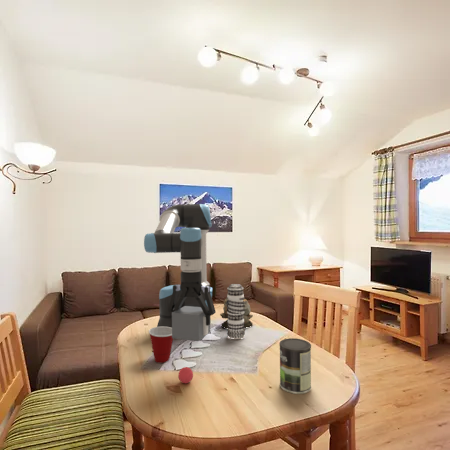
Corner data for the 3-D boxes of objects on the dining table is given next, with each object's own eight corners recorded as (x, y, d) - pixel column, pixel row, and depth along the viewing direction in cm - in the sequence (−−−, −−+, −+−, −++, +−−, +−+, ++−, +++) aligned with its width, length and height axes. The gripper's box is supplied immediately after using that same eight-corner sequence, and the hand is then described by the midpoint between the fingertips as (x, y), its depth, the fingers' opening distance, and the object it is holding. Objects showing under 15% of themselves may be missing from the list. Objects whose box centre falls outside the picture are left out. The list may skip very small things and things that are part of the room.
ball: (174, 376, 105) (178, 385, 107) (188, 378, 104) (191, 387, 106) (180, 363, 109) (183, 372, 112) (193, 364, 108) (196, 373, 110)
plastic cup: (170, 366, 120) (170, 335, 120) (144, 364, 122) (143, 333, 122) (180, 355, 130) (179, 326, 130) (155, 353, 132) (155, 325, 132)
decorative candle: (241, 332, 157) (240, 282, 157) (248, 338, 148) (247, 285, 148) (224, 334, 154) (223, 283, 154) (230, 341, 145) (229, 287, 145)
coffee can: (284, 395, 99) (284, 350, 99) (276, 379, 109) (276, 338, 109) (316, 393, 100) (315, 349, 100) (305, 377, 110) (304, 337, 110)
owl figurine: (223, 331, 160) (223, 297, 160) (217, 324, 171) (216, 293, 171) (256, 327, 165) (255, 294, 165) (247, 321, 176) (247, 290, 177)
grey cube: (185, 329, 119) (185, 305, 119) (210, 331, 115) (210, 307, 115) (172, 338, 109) (171, 312, 109) (198, 341, 106) (198, 315, 106)
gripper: (157, 271, 113) (158, 333, 112) (217, 273, 105) (217, 339, 105) (168, 268, 120) (168, 326, 120) (224, 270, 112) (225, 332, 112)
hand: (191, 332), depth 112 cm, fingers closed on grey cube, 10 cm apart
